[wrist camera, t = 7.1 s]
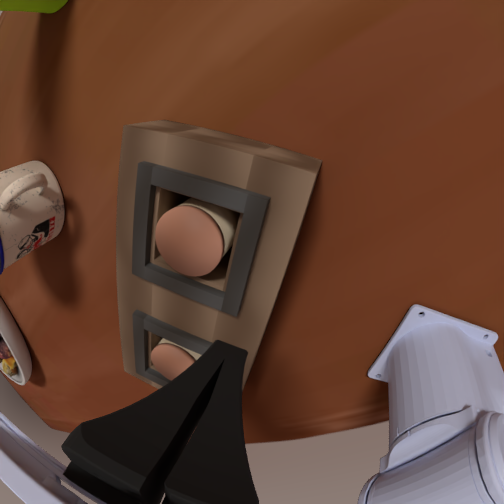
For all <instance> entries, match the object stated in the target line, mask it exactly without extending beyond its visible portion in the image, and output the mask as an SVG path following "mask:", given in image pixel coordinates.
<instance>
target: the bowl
mask: <svg viewBox="0 0 504 504" xmlns="http://www.w3.org/2000/svg"><path fill="white" fill-rule="evenodd" d="M0 370H1V371H2V372H3V373H4V374H5V375H7V376H8V377H9V378H10V379H11V380H13V381H14V382H16V383H17V384H19V385H24V384H25V383H26V382H27V381H28V380H29V378H30V376H31V372H32V361H31V357H30V353H29V350H28V347H27V345H26V342H25V340H24V338H23V336H22V334H21V332H20V330H19V328H18V326H17V324H16V322H15V320H14V319H13V317H12V315H11V313H10V312H9V310H8V308H7V307H6V305H5V303H4V302H3V300H2V299H1V297H0Z"/></svg>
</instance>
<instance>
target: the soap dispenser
mask: <svg viewBox="0 0 504 504" xmlns="http://www.w3.org/2000/svg"><path fill="white" fill-rule="evenodd" d="M67 2H68V0H0V11H27V12H40V13H54V12H56V11H58V10H59V9H61V8H62V7H63V6H64V5H65V4H66V3H67Z"/></svg>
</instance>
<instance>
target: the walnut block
mask: <svg viewBox="0 0 504 504" xmlns="http://www.w3.org/2000/svg"><path fill="white" fill-rule="evenodd" d="M321 163H322V160H319V159H316V158H313V157H310V156H307V155H304V154H300V153H297V152H294V151H291V150H287V149H284V148H280V147H277V146H274V145H270V144H266V143H263V142H259V141H255V140H252V139H248V138H244V137H240V136H236V135H232V134H228V133H224V132H220V131H215V130H211V129H207V128H202V127H197V126H193V125H188V124H183V123H178V122H173V121H168V120H159V121H151V122H144V123H137V124H130V125H124V127H123V135H122V144H121V154H120V165H119V178H118V195H117V221H116V270H117V296H118V312H119V325H120V337H121V346H122V356H123V364H124V371H125V372H127V373H129V374H131V375H133V376H135V377H136V378H138V379H140V380H142V381H144V382H146V383H148V384H150V385H152V386H154V387H156V388H158V389H160V388H162V387H163V386H165V385H166V384H168V383H169V382H170V381H171V380H169V379H167V378H166V377H164V376H163V375H162V374H161V373H160V372H159V371H158V370H157V369H156V368H155V366H154V365H153V363H152V360H151V352H152V351H153V349H154V348H155V347H156V346H157V345H158V344H159V342H160V341H161V340H162V339H163V338H164V339H166V340H168V341H171V342H173V343H175V344H177V345H179V346H182V347H184V348H186V349H189V350H191V351H193V352H196V353H198V354H200V355H203V354H204V353H205V352H206V350H207V349H208V348H209V347H210V346H211V345H212V344H213V343H214V341H215V340H221V341H223V342H226V343H228V344H231V345H234V346H237V347H239V348H242V349H245V350H247V352H248V356H247V358H246V362H245V367H244V374H243V383H242V391H243V389H244V386H245V384H246V381H247V378H248V376H249V373H250V371H251V368H252V365H253V363H254V360H255V357H256V355H257V352H258V349H259V347H260V344H261V341H262V339H263V336H264V333H265V330H266V328H267V325H268V322H269V319H270V317H271V314H272V311H273V308H274V305H275V303H276V300H277V297H278V294H279V291H280V288H281V286H282V283H283V280H284V277H285V274H286V271H287V268H288V265H289V262H290V259H291V257H292V254H293V251H294V248H295V245H296V242H297V239H298V236H299V233H300V230H301V226H302V223H303V220H304V217H305V214H306V211H307V208H308V205H309V202H310V199H311V195H312V192H313V189H314V186H315V183H316V179H317V176H318V173H319V170H320V167H321ZM191 197H192V198H195V199H198V200H201V201H204V202H208V203H211V204H214V205H217V206H220V207H223V208H226V209H229V210H233V211H236V212H239V213H240V216H239V220H238V225H237V229H236V233H235V238H234V242H233V247H232V249H229V250H228V251H227V252H226V254H225V255H224V256H223V257H222V259H221V261H220V262H219V264H218V265H217V266H216V267H215V268H214V269H213V270H212V271H211V272H210V273H208V274H206V275H203V276H188V275H184V274H182V273H180V272H178V271H176V270H174V269H173V268H172V267H171V266H169V265H168V264H167V263H166V261H165V260H164V259H163V257H162V256H161V254H160V252H159V250H158V248H157V244H156V239H155V231H156V226H157V223H158V221H159V219H160V218H161V217H162V216H163V214H165V213H166V212H167V211H169V210H171V209H172V208H174V207H177V206H179V205H180V204H182V203H183V202H185V201H187V200H188V199H190V198H191Z"/></svg>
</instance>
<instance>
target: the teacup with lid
mask: <svg viewBox="0 0 504 504" xmlns="http://www.w3.org/2000/svg"><path fill="white" fill-rule="evenodd" d="M64 215H65V209H64V201H63V196H62V192H61V189H60V186H59V183H58V181H57V179H56V177H55V175H54V174H53V172H52V171H51V170H50V169H49V168H48V167H47V166H46V165H45V164H44V163H42V162H39V161H30V162H27V163H24V164H21V165H18V166H16V167H13V168H10V169H7V170H5V171H2V172H0V274H1V273H2V272H3V269H5V268H6V267H8V266H10V265H11V264H13V263H14V262H16V261H17V260H19V259H20V258H22V257H23V256H25V255H27V254H28V253H30V252H31V251H33V250H35V249H36V248H38V247H40V246H41V245H43V244H45V243H46V242H48V241H50V240H51V239H53V238H55V237H56V236H57V235H58V234H59V233H60V231H61V229H62V227H63V223H64Z"/></svg>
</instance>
